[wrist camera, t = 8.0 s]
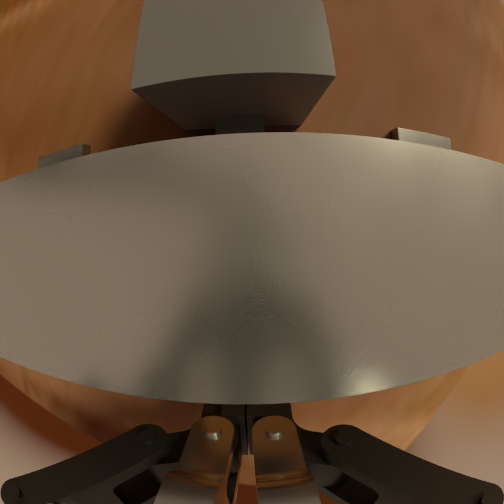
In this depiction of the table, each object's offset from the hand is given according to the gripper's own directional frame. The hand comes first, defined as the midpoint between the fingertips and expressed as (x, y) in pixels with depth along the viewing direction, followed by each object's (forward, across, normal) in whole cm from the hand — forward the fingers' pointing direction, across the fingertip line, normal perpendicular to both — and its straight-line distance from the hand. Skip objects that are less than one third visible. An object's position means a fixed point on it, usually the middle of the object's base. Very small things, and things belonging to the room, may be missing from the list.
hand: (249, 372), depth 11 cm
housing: (+1, 0, -6) cm, 6 cm away
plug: (+1, 0, -8) cm, 8 cm away
